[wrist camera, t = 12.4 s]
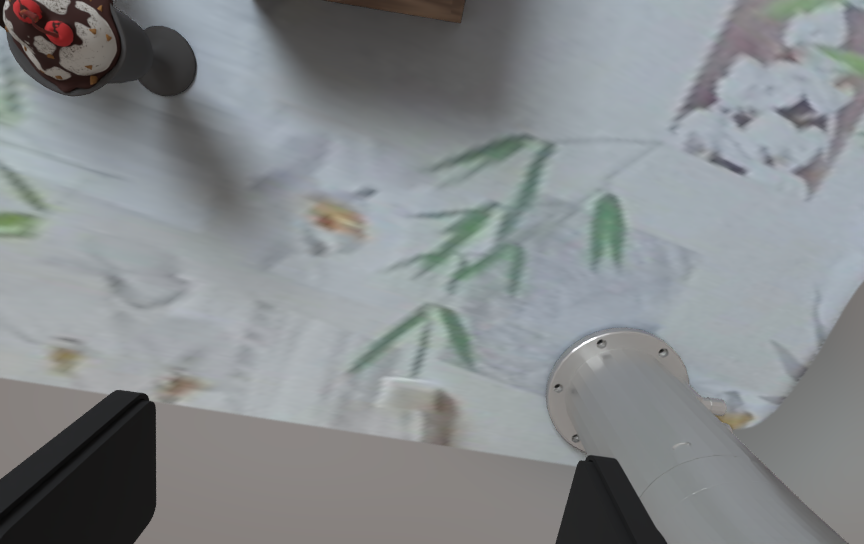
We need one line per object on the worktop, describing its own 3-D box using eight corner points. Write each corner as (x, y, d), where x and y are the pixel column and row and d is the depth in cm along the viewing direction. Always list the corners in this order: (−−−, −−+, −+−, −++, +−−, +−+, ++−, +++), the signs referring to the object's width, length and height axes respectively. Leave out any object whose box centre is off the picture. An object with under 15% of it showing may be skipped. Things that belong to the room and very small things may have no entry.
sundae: (224, 82, 37) (86, 43, 22) (153, 122, 37) (-25, 110, 23) (176, -4, 35) (-7, -106, 21) (102, 40, 36) (-123, -28, 21)
